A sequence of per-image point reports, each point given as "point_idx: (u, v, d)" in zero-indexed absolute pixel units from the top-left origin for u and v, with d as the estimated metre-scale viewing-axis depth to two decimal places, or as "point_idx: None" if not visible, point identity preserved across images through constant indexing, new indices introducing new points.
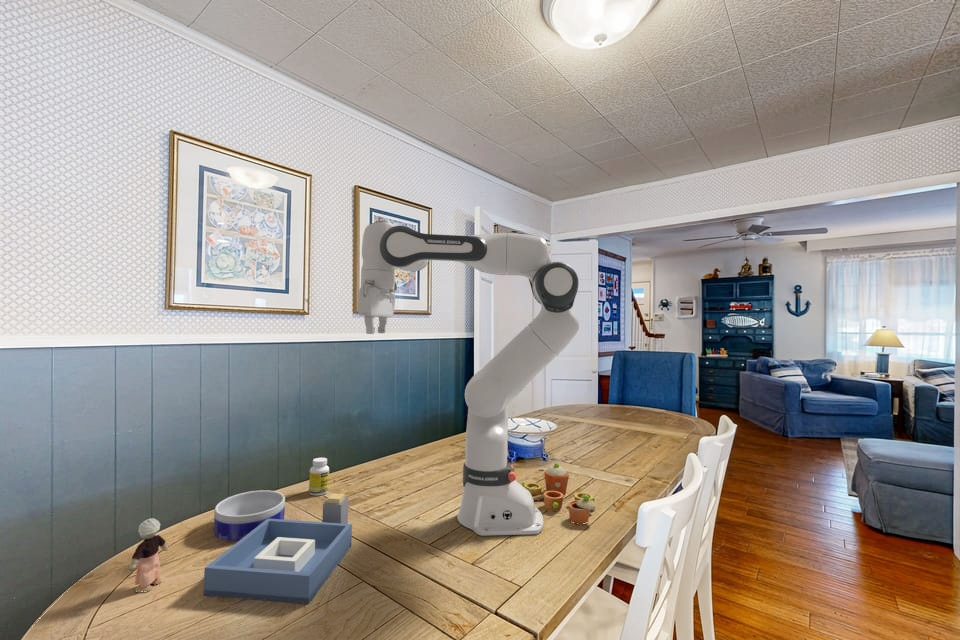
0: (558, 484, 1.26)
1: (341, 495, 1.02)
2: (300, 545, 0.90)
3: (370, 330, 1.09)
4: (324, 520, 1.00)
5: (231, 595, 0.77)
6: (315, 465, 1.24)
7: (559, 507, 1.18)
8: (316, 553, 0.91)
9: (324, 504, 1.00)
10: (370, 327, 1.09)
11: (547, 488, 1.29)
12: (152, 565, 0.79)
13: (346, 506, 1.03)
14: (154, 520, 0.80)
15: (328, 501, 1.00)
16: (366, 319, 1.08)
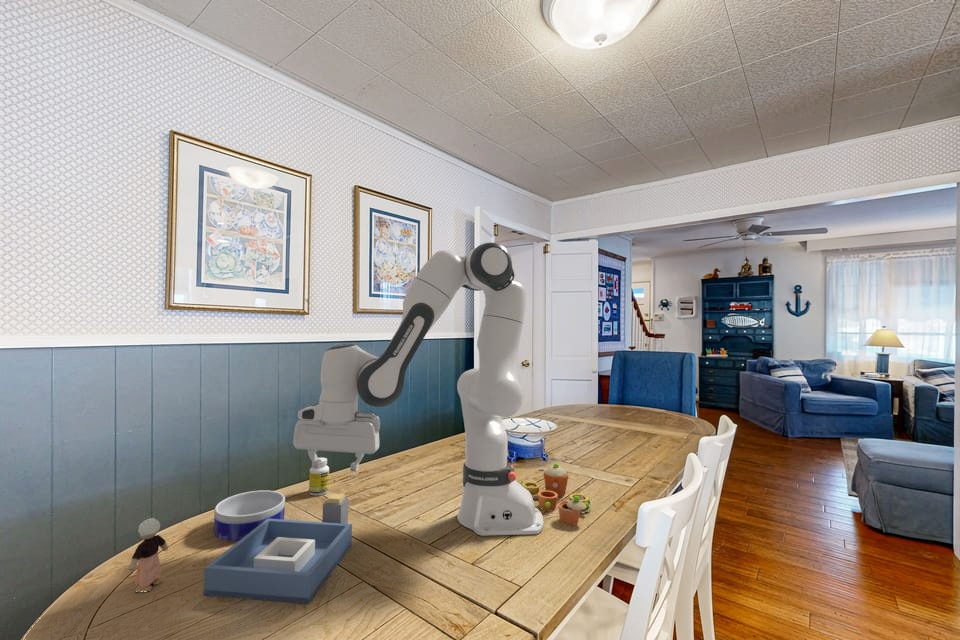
0: (555, 484, 1.25)
1: (341, 495, 1.02)
2: (300, 545, 0.90)
3: (358, 466, 1.02)
4: (324, 520, 1.00)
5: (231, 595, 0.77)
6: None
7: (552, 507, 1.18)
8: (316, 553, 0.91)
9: (324, 504, 1.00)
10: (358, 463, 1.02)
11: (546, 488, 1.29)
12: (152, 565, 0.79)
13: (346, 506, 1.03)
14: (154, 520, 0.80)
15: (328, 501, 1.00)
16: (361, 456, 1.01)
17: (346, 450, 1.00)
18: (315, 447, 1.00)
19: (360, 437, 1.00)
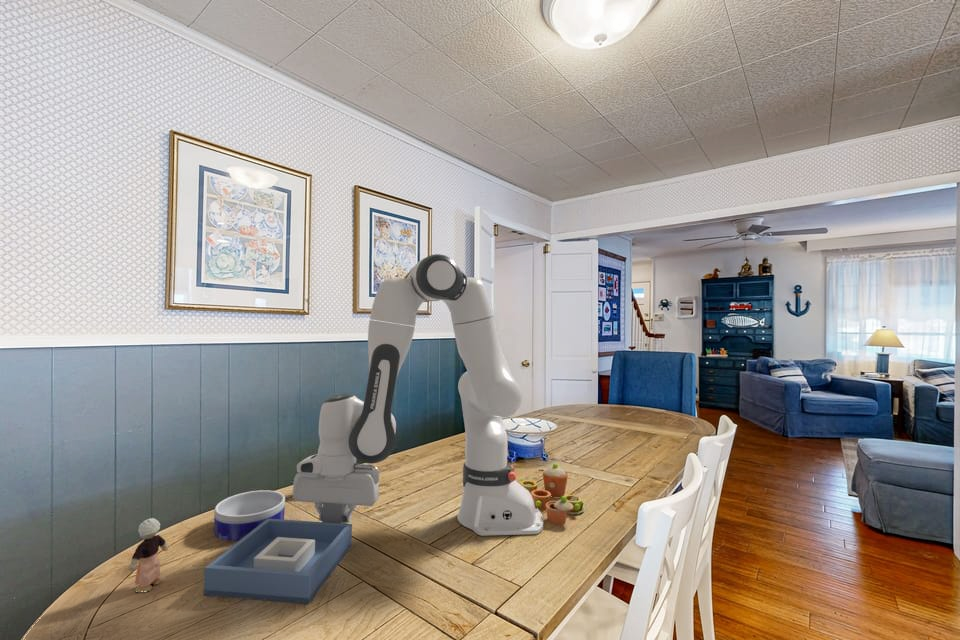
0: (552, 484, 1.25)
1: None
2: (300, 545, 0.90)
3: (350, 517, 1.02)
4: (324, 520, 1.00)
5: (231, 595, 0.77)
6: None
7: (544, 506, 1.18)
8: (316, 553, 0.91)
9: (324, 504, 1.00)
10: (351, 514, 1.02)
11: None
12: (152, 565, 0.79)
13: (346, 506, 1.03)
14: (154, 520, 0.80)
15: None
16: (354, 507, 1.01)
17: (346, 502, 1.00)
18: (314, 500, 1.00)
19: (359, 489, 1.00)
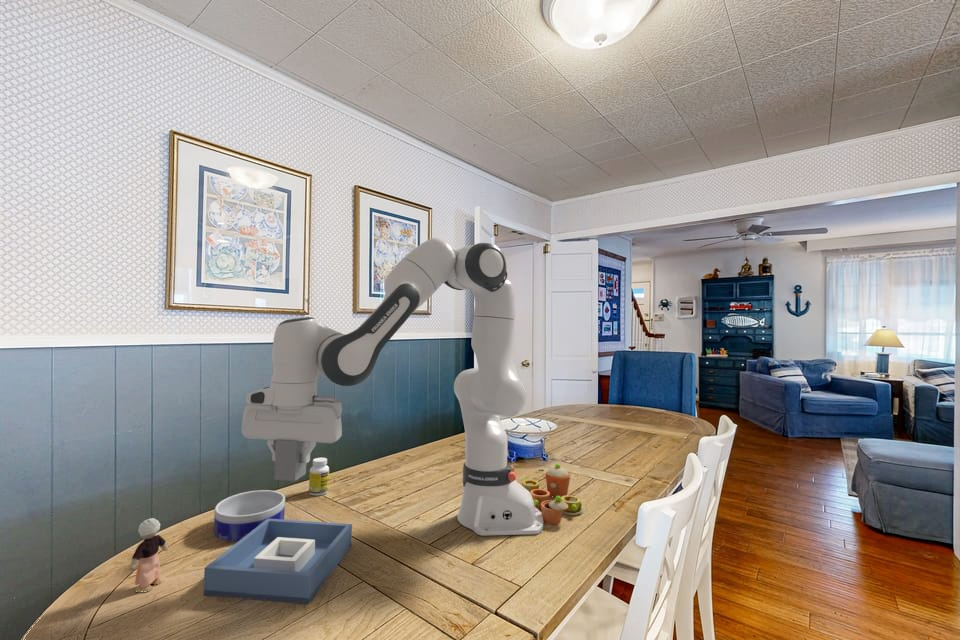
0: (553, 484, 1.25)
1: None
2: (300, 545, 0.90)
3: (308, 457, 0.88)
4: (277, 459, 0.86)
5: (231, 595, 0.77)
6: (315, 465, 1.24)
7: None
8: (316, 553, 0.91)
9: (277, 441, 0.86)
10: (309, 453, 0.88)
11: (547, 488, 1.29)
12: (152, 565, 0.79)
13: (304, 445, 0.89)
14: (154, 520, 0.80)
15: None
16: (312, 445, 0.87)
17: (302, 439, 0.86)
18: (267, 436, 0.87)
19: (318, 424, 0.86)
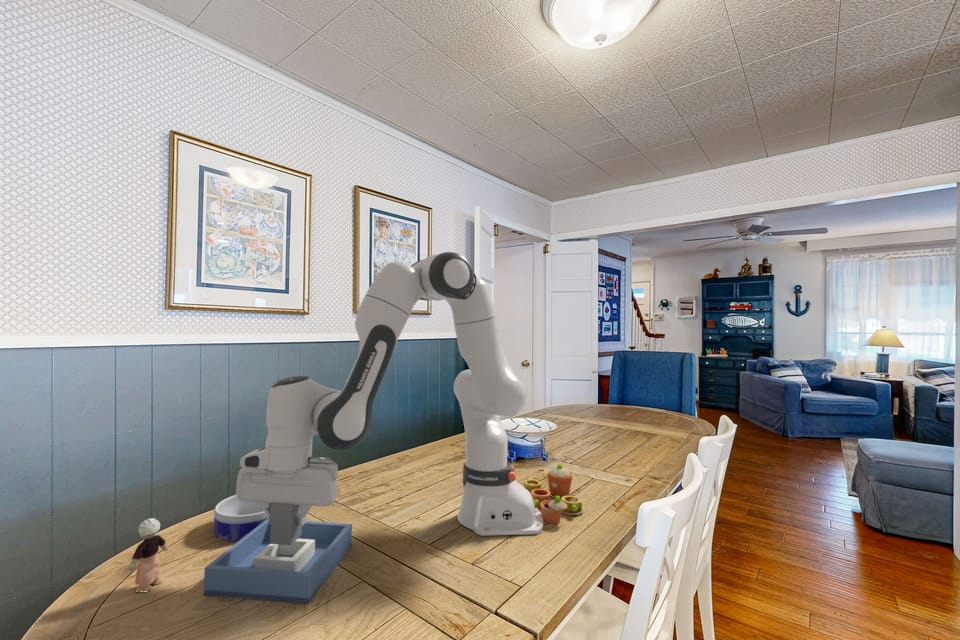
0: (554, 484, 1.25)
1: None
2: (300, 545, 0.90)
3: (304, 519, 0.87)
4: (272, 523, 0.85)
5: (231, 595, 0.77)
6: None
7: None
8: (316, 553, 0.91)
9: (272, 504, 0.85)
10: (305, 515, 0.87)
11: (549, 488, 1.29)
12: (152, 565, 0.79)
13: (300, 506, 0.88)
14: (154, 520, 0.80)
15: None
16: (308, 507, 0.86)
17: (298, 502, 0.85)
18: (262, 499, 0.86)
19: (314, 487, 0.85)
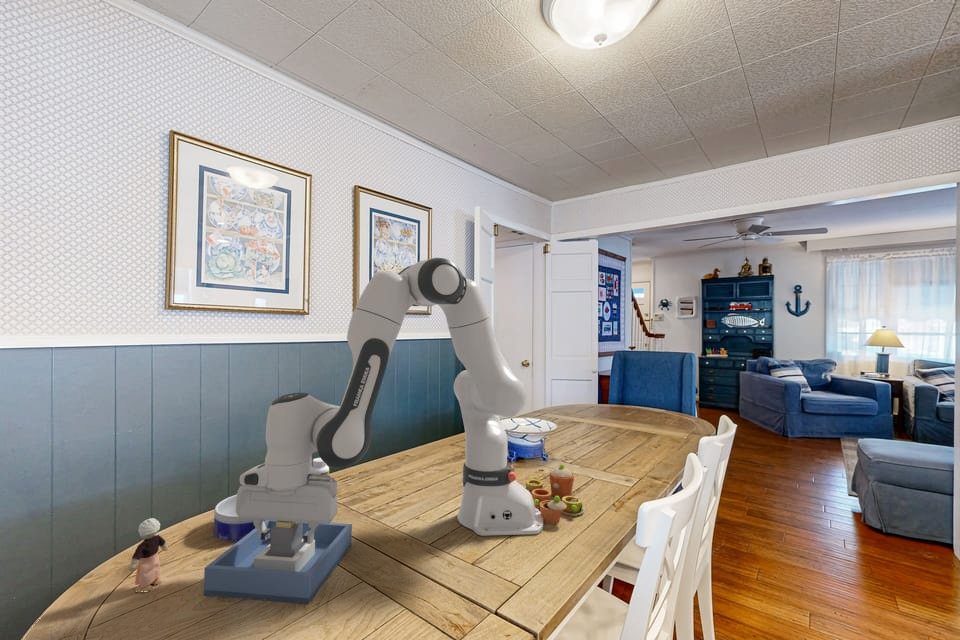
0: (556, 485, 1.25)
1: None
2: None
3: (312, 537, 0.87)
4: (272, 548, 0.85)
5: (231, 595, 0.77)
6: (315, 465, 1.24)
7: None
8: (316, 553, 0.91)
9: (272, 529, 0.85)
10: (313, 533, 0.87)
11: (551, 488, 1.29)
12: (152, 565, 0.79)
13: (299, 530, 0.88)
14: (154, 520, 0.80)
15: (277, 525, 0.86)
16: (316, 525, 0.86)
17: (297, 520, 0.85)
18: (261, 516, 0.86)
19: (313, 504, 0.85)
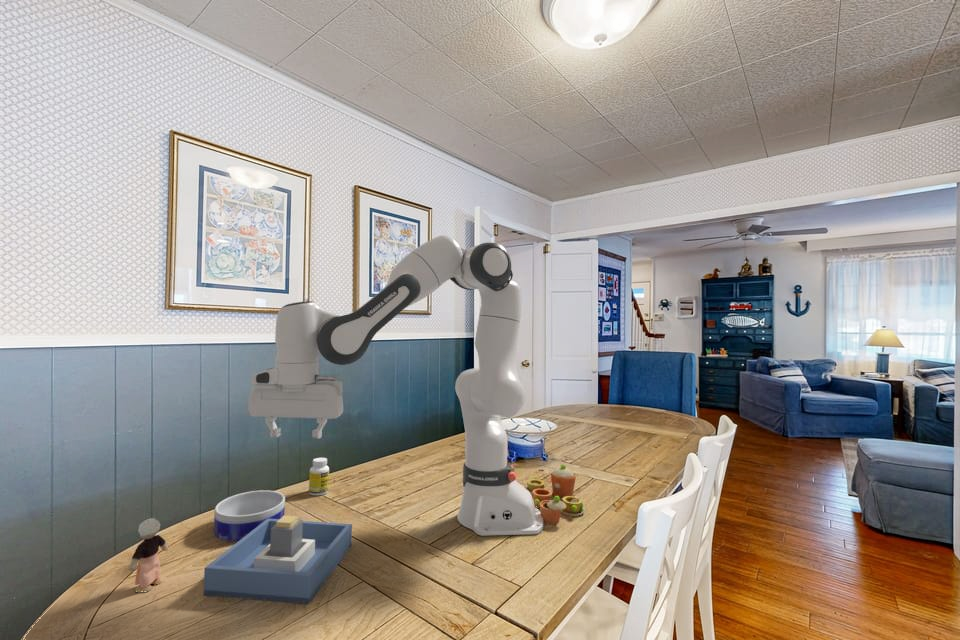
0: (557, 485, 1.25)
1: (293, 518, 0.88)
2: None
3: (320, 433, 0.94)
4: (272, 548, 0.85)
5: (231, 595, 0.77)
6: (315, 465, 1.24)
7: None
8: (316, 553, 0.91)
9: (272, 529, 0.85)
10: (321, 430, 0.94)
11: (552, 488, 1.29)
12: (152, 565, 0.79)
13: (299, 530, 0.88)
14: (154, 520, 0.80)
15: (277, 525, 0.86)
16: (324, 421, 0.93)
17: (306, 415, 0.92)
18: (272, 414, 0.92)
19: (321, 401, 0.92)
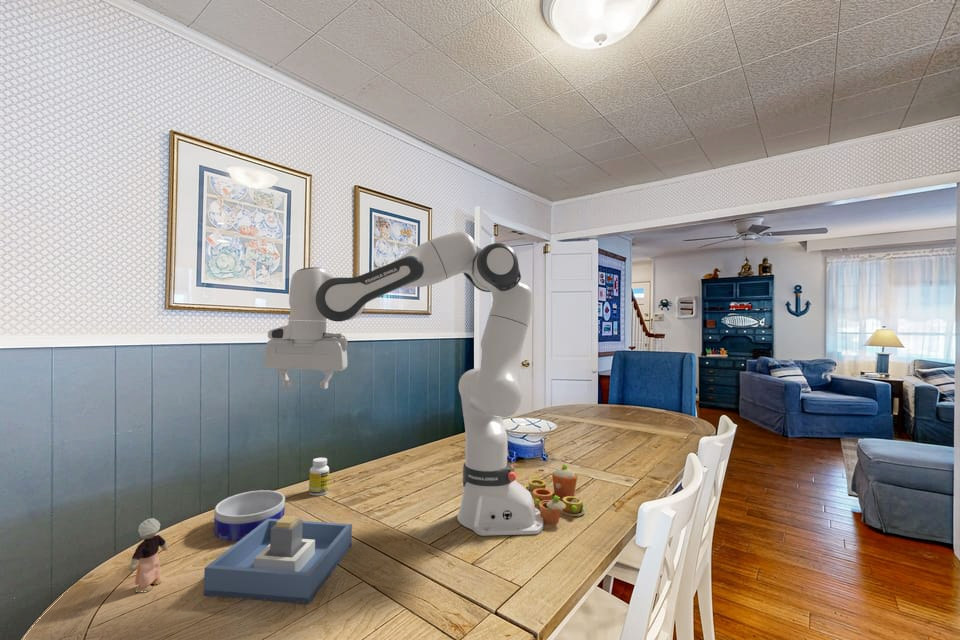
0: (558, 485, 1.25)
1: (293, 518, 0.88)
2: None
3: (327, 384, 1.06)
4: (272, 548, 0.85)
5: (231, 595, 0.77)
6: (315, 465, 1.24)
7: None
8: (316, 553, 0.91)
9: (272, 529, 0.85)
10: (327, 381, 1.06)
11: None
12: (152, 565, 0.79)
13: (299, 530, 0.88)
14: (154, 520, 0.80)
15: (277, 525, 0.86)
16: (330, 374, 1.05)
17: (315, 368, 1.04)
18: (285, 366, 1.04)
19: (328, 355, 1.04)
